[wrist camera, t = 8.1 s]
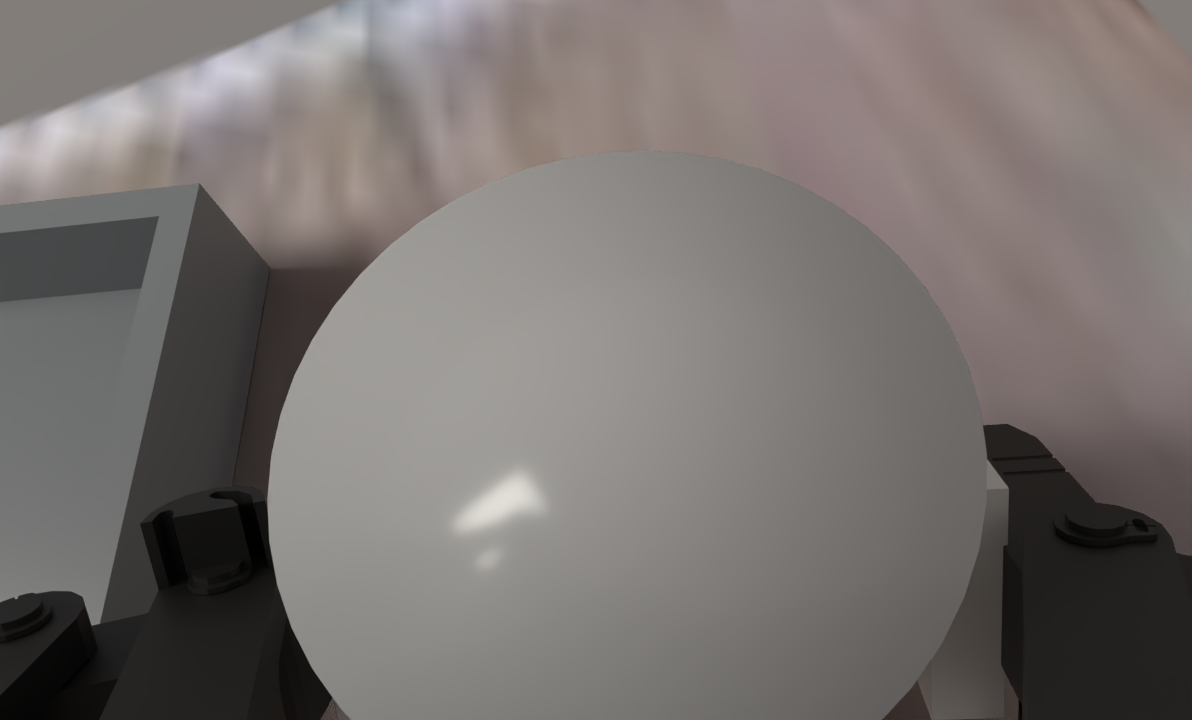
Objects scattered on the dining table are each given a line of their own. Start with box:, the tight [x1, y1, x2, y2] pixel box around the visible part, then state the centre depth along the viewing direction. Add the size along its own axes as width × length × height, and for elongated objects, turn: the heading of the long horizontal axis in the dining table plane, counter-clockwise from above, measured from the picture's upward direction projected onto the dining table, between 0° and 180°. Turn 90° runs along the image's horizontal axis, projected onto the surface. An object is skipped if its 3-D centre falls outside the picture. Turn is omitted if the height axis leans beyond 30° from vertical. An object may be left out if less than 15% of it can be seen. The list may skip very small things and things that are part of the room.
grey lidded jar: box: [267, 151, 987, 720], centre depth 13 cm, size 6×6×11 cm
